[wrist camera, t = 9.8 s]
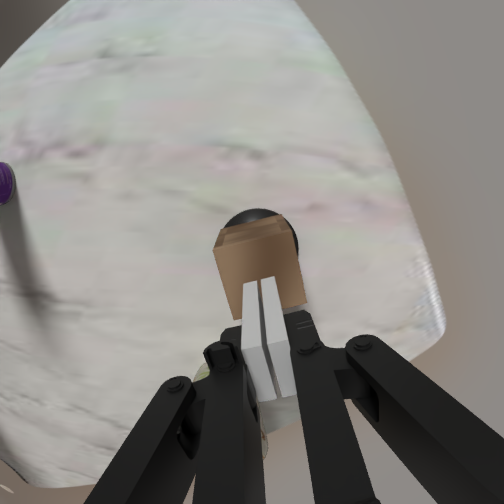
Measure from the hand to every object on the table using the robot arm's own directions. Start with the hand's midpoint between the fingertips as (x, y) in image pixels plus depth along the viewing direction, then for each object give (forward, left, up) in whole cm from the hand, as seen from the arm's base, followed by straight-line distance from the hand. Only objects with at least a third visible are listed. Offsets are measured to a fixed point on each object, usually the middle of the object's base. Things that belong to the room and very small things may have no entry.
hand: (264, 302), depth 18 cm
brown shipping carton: (0, 0, -10) cm, 10 cm away
